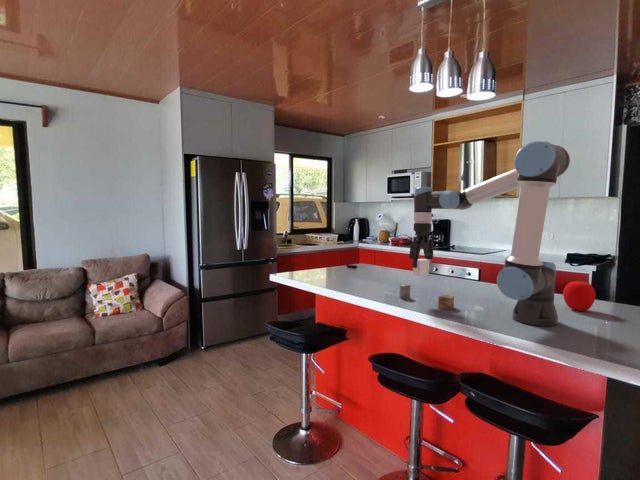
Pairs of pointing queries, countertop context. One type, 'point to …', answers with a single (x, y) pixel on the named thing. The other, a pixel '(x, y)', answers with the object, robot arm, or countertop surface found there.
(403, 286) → the dark grey cylinder
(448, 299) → the walnut block
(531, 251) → the robot arm
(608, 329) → the countertop surface
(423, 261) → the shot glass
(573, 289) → the tomato
